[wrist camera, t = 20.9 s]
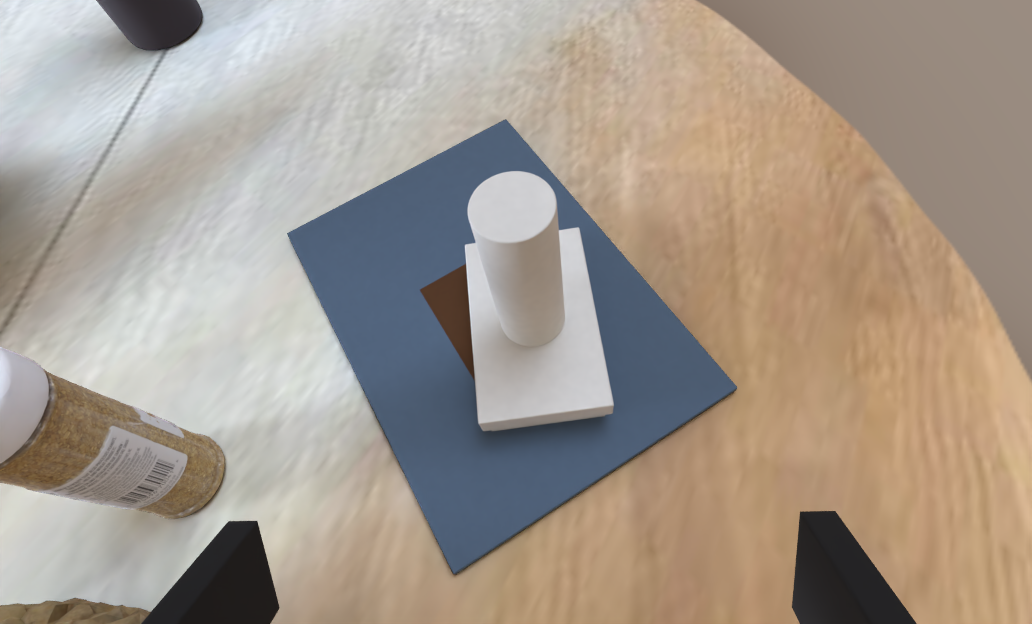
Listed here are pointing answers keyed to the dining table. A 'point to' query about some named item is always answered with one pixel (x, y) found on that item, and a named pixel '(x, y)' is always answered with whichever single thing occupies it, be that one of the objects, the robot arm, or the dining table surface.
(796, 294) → the dining table surface
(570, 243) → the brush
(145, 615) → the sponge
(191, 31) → the vinegar
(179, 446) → the sprinkles bottle
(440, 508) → the mat
